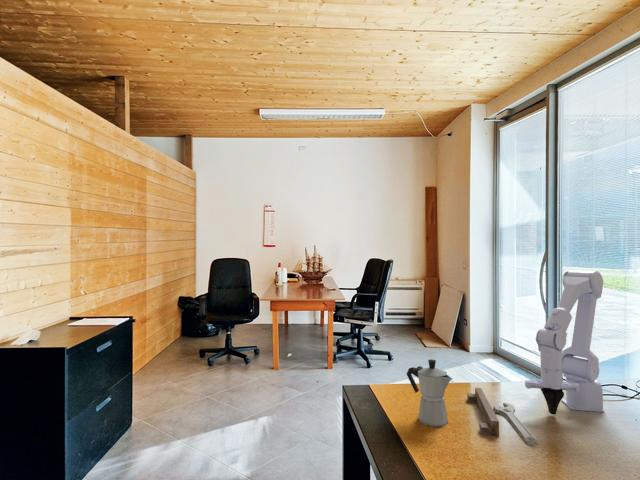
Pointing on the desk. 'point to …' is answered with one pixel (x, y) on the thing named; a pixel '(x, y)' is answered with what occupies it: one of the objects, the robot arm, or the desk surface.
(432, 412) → the coffee maker
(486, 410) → the walnut bar
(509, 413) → the adjustable wrench
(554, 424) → the desk surface
